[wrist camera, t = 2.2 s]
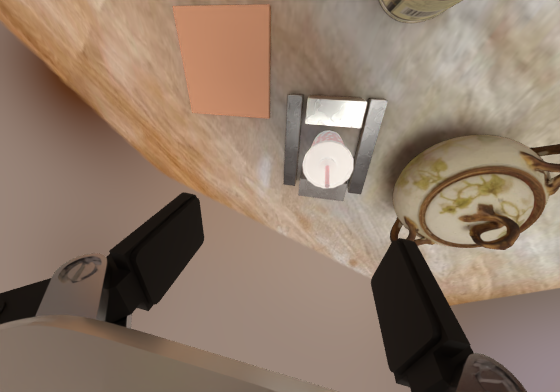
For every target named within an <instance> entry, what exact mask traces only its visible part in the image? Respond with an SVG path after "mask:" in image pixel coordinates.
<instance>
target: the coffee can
mask: <svg viewBox="0 0 560 392" xmlns="http://www.w3.org/2000/svg"><path fill="white" fill-rule="evenodd" d="M379 1H380V4H381V6H382V7H383V9H384V10H385V12H386V13H387V14H388V15H389V16H391V17H392V18H394V19H395V20H398V21H401V22H405V23H417V22H422V21H426V20H429V19H431V18H434V17H436V16H437V15H439V14H441V13H442V12H444V11H445V10H447V9H448V8H450V7H452V6H454V5H455V4H457V3H459V2H461V1H462V0H379Z"/></svg>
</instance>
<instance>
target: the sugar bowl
mask: <svg viewBox="0 0 560 392" xmlns="http://www.w3.org/2000/svg"><path fill="white" fill-rule="evenodd" d="M552 154H560V144H557V145H550V146H543V147H536V148H529V147H527V146H525V145H523V144H522V143H520V142H517V141H514V140H511V139H508V138H504V137H499V136H493V135H470V136H462V137H457V138H452V139H449V140H446V141H443V142H440V143H438V144H436V145H433V146H431V147H429V148H428V149H426V150H425V151H423V152H422V153H420V154H419V155H417V156H416V157H415V158H414V159H413V160H412V161H410V162H409V163H408V164H407V166H406V167H405V168H404V169H403V171H402V172H401V174H400V175H399V177H398V179H397V181H396V184H395V187H394V191H393V205H394V209H395V212H396V214H397V216H398V217H397V220H396V222H395V223H394V225H393V227H392V230H391V232H390V240H391V242H393V241H397V239H398V234H399V231H400V229H401V227H402V225H404V226H405V228H407V229H408V230H409V235H408V237H407V239H406V240H411V241H414V242H415V243H416V244H417V246H418V245H422V244H431V245H433V244H439V245H444V246H452V247H460V248H474V247H485V248H490V249H499V250H505V249H507V248H509V247H511V246H512V245H513V244H514V242H515V241H516V240H517V238H518V237H519V235H520V233H521V232H523V231H524V230H526V229H527V228H529V227H530V226H531V225H532V224H533V223H534V222H535V221H536V220H537V219H538V218H539V217H540V215H541V214H542V212H543V210H544V208H545V205H546V204H547V201H548V199H549V196H550V195H552V194H554V193H555V192H556V191H557V190H558V189H559V187H560V175H558V176H556V177H554V178H552V179H551V176H550V173H549V172H560V164H553V163H547V162H544V161H543V159H542V158H541V157H540V156H545V155H552ZM416 235H417V236H418V237H420V238H421V239H417V240H414V239H415V237H416Z"/></svg>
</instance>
